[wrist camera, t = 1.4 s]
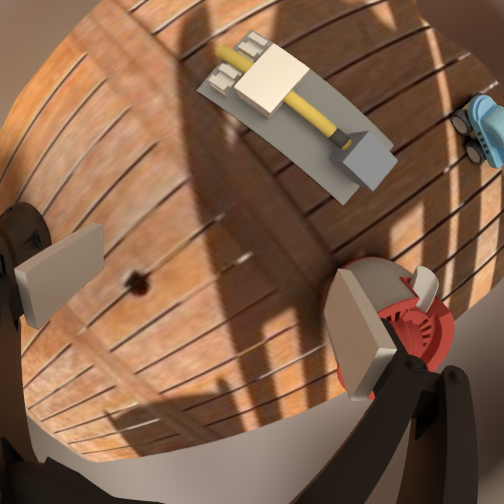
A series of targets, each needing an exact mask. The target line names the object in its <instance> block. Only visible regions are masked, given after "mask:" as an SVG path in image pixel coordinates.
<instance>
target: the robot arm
mask: <svg viewBox="0 0 504 504" xmlns="http://www.w3.org/2000/svg"><path fill="white" fill-rule="evenodd" d="M102 269H104V254H103V224H100V223H95V222H92V223H90V224H88V225H86V226H85V227H83V228H81V229H79V230H77V231H76V232H74V233H72V234H70V235H68V236H67V237H65V238H63V239H61V240H60V241H58V242H56V243H55V244H53V245H51V239H50V235H49V231H48V228H47V226H46V223H45V221H44V220H43V218H42V216H41V215H40V213H39V212H38V211H37V210H36V209H35V208H34V207H33V206H31V205H30V204H27V203H18V204H15V205H13V206H11V207H9V208H8V209H7V210H6V211H5V212H4V213H3V214H2V215H1V216H0V504H164V503H160V502H151V501H139V500H131V499H123V498H116V497H113V496H111V495H109V494H108V493H106V492H105V491H103V490H102V489H100V488H99V487H98V486H96V485H95V484H93V483H92V482H91V481H89V480H88V479H86V478H85V477H84V476H82V475H81V474H80V473H78V472H76V471H74V470H72V469H70V468H68V467H66V466H64V465H62V464H61V463H59V462H57V461H55V460H53V459H51V458H50V457H47V459H46V461H45V463H41V462H39V461H38V459H37V457H36V456H35V454H34V451H33V448H32V445H31V440H30V434H29V429H28V423H27V417H26V410H25V402H24V393H23V382H22V367H21V322H20V318H19V317H21V316H22V315H23V314H24V316H25V319H26V323H27V325H29V326H31V327H33V328H35V329H37V330H39V329H40V328H41V327H42V326H43V325H44V324H45V323H46V322H47V321H48V320H49V319H50V318H51V317H52V316H53V315H54V314H55V313H56V312H57V311H58V310H59V309H60V308H61V307H62V306H63V305H64V304H65V303H66V302H67V301H68V300H69V299H70V298H72V297H73V296H74V295H75V294H76V293H77V292H78V291H79V290H80V289H81V288H82V287H83V286H85V285H86V284H87V283H88V282H89V281H90V280H91V279H92V278H93V277H95V276H96V275H97V274H98V273H99V272H100V271H101V270H102ZM324 315H325V318H326V321H327V325H328V328H329V331H330V334H331V338H332V341H333V344H334V348H335V351H336V354H337V358H338V361H339V365H340V368H341V372H342V375H343V379H344V382H345V386H346V390H347V393H348V397H349V400H367V398H368V397H369V395H370V394H371V392H372V391H373V392H374V395H375V399H374V401H373V402H372V403H371V405H370V406H369V408H368V409H367V410H366V412H365V413H364V415H363V417H362V418H361V419H360V421H359V422H358V424H357V425H356V427H355V428H354V429H353V431H352V432H351V433H350V435H349V436H348V437H347V439H346V440H345V441H344V443H343V444H342V445H341V446H340V448H339V449H338V450H337V451H336V453H335V454H334V455H333V456H332V458H331V459H330V460H329V461H328V462H327V464H326V465H325V466H324V467H323V468H322V469H321V470H320V472H319V473H318V474H317V475H316V476H315V477H314V478H313V480H312V481H311V482H310V483H309V484H308V485H307V486H306V487H305V488H304V489H303V490H302V491H301V492H300V493H299V494H298V495H297V496H296V497H295V498H294V499H293V500H292V501H291V502H290V503H289V504H364V503H365V502H366V500H367V498H368V497H369V495H370V494H371V492H372V491H373V489H374V488H375V486H376V484H377V483H378V481H379V479H380V478H381V476H382V474H383V472H384V471H385V469H386V467H387V465H388V463H389V462H390V460H391V458H392V456H393V454H394V453H395V450H396V448H397V447H398V444H399V443H400V440H401V439H402V436H403V434H404V432H405V430H406V428H407V426H408V423H409V421H410V419H411V427H410V436H409V442H408V449H407V455H406V461H405V466H404V472H403V477H402V482H401V486H400V490H399V494H398V498H397V502H396V504H477V495H478V452H477V437H476V427H475V418H474V409H473V402H472V397H471V390H470V385H469V379H468V377H467V375H466V374H465V372H464V371H463V370H461V369H460V368H458V367H455V366H452V365H450V366H446V367H445V368H444V370H443V371H442V373H441V374H438V373H434V372H431V371H428V367H427V364H426V363H425V362H424V361H423V360H422V359H420V358H419V357H417V356H414V355H409V354H408V352H407V350H406V348H405V347H404V345H403V343H402V342H401V340H400V339H399V336H398V335H397V333H395V332H396V331H395V330H394V328H393V326H392V325H391V324H390V323H389V322H388V321H387V320H386V319H385V318H381V317H379V316H378V314H377V313H376V311H375V309H374V308H373V306H372V304H371V303H370V301H369V299H368V298H367V296H366V294H365V293H364V291H363V289H362V288H361V286H360V284H359V283H358V281H357V280H356V278H355V276H354V275H353V273H352V272H351V271H350V270H344V269H339V268H338V270H337V273H336V276H335V279H334V282H333V285H332V288H331V291H330V294H329V297H328V300H327V303H326V306H325V309H324Z"/></svg>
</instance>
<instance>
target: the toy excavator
mask: <svg viewBox="0 0 504 504" xmlns="http://www.w3.org/2000/svg"><path fill="white" fill-rule="evenodd" d="M451 122H452V123H453V124H454V126H455V127H456V129H457V131H458V132H459V133H460V134H462V135H464V136H467V135H469V134H470V136H471V138H472V140H471V141H470V142H468V143H467V144H466V147H465V149H467V152H466V153H467V155H468V157H469V158H470V159H471V160H472V161H473V162H474V163H476V164H480V165H481V164H482V163H483V162H484V161H485V160H486V159H487V160H488V163H489V165H490V166H491V167H493V168H498V169H499V168H500V167H501V166H502V165H503V164H504V107H501V106H497V104H496V103H495V102H494V101H493V100H492V99H491V98H490V97H489V96H486V95H484V94H482V93H476V94H475V95H473V96H472V97H471V98H470V102H469V103H468V104H466V105H465V106H464V107H463V108H462V109H458V110H457V111H456V112H455V113H454V114H453V115H452V116H451Z"/></svg>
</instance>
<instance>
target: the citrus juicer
mask: <svg viewBox="0 0 504 504" xmlns="http://www.w3.org/2000/svg"><path fill="white" fill-rule="evenodd" d="M341 269H344V270H350V271H351V272H352V273H353V275H354V276H355V278H356V280H357V281H358V283H359V284H360V286H361V288H362V289H363V291H364V293H365V294H366V296H367V298H368V299H369V301H370V303H371V304H372V306H373V308H374V309H375V311H376V313H377V314H378V316H379V317H381V318H385V319H386V320H387V321H388V322H389V323H390V324H391V325H392V326H393V328H394V330H395V331H396V332H395V333H397V335H398V336H399V339H400V340H401V342H402V343H403V345H404V347H405V348H406V350H407V352H408V354H409V355H414V356H417V357H419V358H420V359H422V360H423V361H424V362H425V363H426V364H427V367H428V371H431V372H434V371H435V369H436V368H437V367H438V366H439V365H440V363H441V362H442V361H443V359H444V358H445V356H446V355H447V353H448V351H449V349H450V346H451V343H452V341H453V336H454V319H453V316H452V314H451V311H450V310H449V309H448V308H447V307H446V306H445V305H444V304H443V303H442V301H441V300H440V299H439V298H438V297H437V296H436V295H435V294H436V292H437V289H438V284H439V283H438V280H437V278H436V276H435V275H434V274H433V273H432V272H431V271H430V270H429V269H427V268H425V267H423V266H417V267H416V269H415V272H414V274H412V273H410V272H409V271H408V270H406V269H405V268H403V267H402V266H400V265H398V264H396V263H394V262H392V261H389V260H387V259H384V258H381V257H361V258H358V259H354V260H352V261H350V262H348V263H347V264H346V265H344V266H343V267H342V268H341ZM335 276H336V275H335ZM335 276H334V278H333V279H332V281H331V284H330V286H329V288H328V292H327V296H326V303H327V300H328V297H329V294H330V291H331V288H332V285H333V282H334V279H335ZM326 324H327V321H326ZM327 329H328V334H329V338H330V342H331V345H332V349H333V352H334V356H335V359H336V363H337V374H338V379H339V381H340V383H341V385H342V386H343V387H344V388H345V389H346V386H345V382H344V379H343V375H342V372H341V368H340V365H339V361H338V358H337V354H336V351H335V348H334V344H333V341H332V338H331V334H330V331H329V328H328V325H327ZM367 399H375V395H374V392H373V391H372V392H371V394H370V395H369V397H368V398H367Z"/></svg>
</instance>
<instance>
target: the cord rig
mask: <svg viewBox="0 0 504 504" xmlns="http://www.w3.org/2000/svg"><path fill="white" fill-rule="evenodd" d="M272 44H273V43H272V42H271V41H269V40H268V39H266V38H264V37H263V36H261V35H260V34H258V33H256V32H255V31H253V30H250V31H249V32H248V33H247V34H246V35H245V37H244V38H243V39H242V40H241V41H240V42H239V43H238V44H237V45H236V46H235V47H234V48H233V49H231V48H230V47H228V46H226V45H225V44H222V45H220V46H219V47H218V48H217V50H216V52H215V55H216V56H218V57H220V58H221V59H223V60H222V61H221V62H220V63H219V65H218V66H217V67H216V68H215V69H214V70H213V72H212V73H211V74H210V75H209V76H208V77H207V79H206V80H205V81H204V82H203V83H202V85H201V86H200V87H199V88H198V90H197V91H198V92H199V93H201V94H202V95H204V96H205V97H207V98H208V99H210V100H211V101H213V102H214V103H216V104H217V105H219V106H220V107H221V108H223V109H224V110H226V111H227V112H229V113H230V114H231V115H233V116H234V117H235V118H237V119H238V120H240V121H241V122H242V123H244V124H245V125H246V126H248V127H249V128H250V129H252V130H253V131H254V132H256V133H257V134H258V135H260V136H261V137H262V138H264V139H265V140H266V141H268V142H269V143H270V144H271V145H273V146H274V147H275V148H276V149H278V150H279V151H280V152H281V153H283V154H284V155H285V156H286V157H288V158H289V159H290V160H291V161H293V162H294V163H295V164H296V165H297V166H299V167H300V168H301V169H302V170H303V171H305V172H306V173H307V174H308V175H309V176H310V177H312V178H313V179H314V180H315V181H316V182H317V183H319V184H320V185H321V186H322V187H323V188H324V189H325V190H326V191H328V192H329V193H330V194H331V195H332V196H333V197H334V198H335V199H336V200H338V201H339V202H340V203H341V204H342V205H344V204H345V203H346V202H347V201H348V200H349V198H350V197H351V196H352V195H353V194H354V193H355V191H356V190H357V189H358V188H359V187H360V186H362V187H365V188H367V189H369V190H371V191H374V189H375V188H376V187H377V186H378V185H379V183H380V182H381V181H382V180H383V179H384V177H385V176H386V175H387V174H388V173H389V171H390V170H391V169H392V168H393V167H394V165H395V164H396V163H397V162H398V160H397V159H396V158H395V157H394V156H393V155H392V154H391V153H390V152H389V151H390V150H391V149H392V147H393V146H394V145H393V144H392V143H391V142H390V141H389V140H388V138H387V137H386V136H385V135H384V134H383V133H382V132H381V131H380V130H379V129H378V128H377V127H376V126H375V125H374V124H373V123H372V122H371V121H370V120H369V119H368V118H367V117H366V116H364V115H363V114H362V113H361V112H360V111H359V110H358V109H357V108H356V107H355V106H354V105H353V104H351V103H350V102H349V101H348V100H347V99H346V98H345V97H344V96H342V95H341V94H340V93H339V92H338V91H337V90H335V89H334V88H333V87H332V86H331V85H329V84H328V83H327V82H326V81H325V80H323V79H322V78H321V77H320V76H318V75H317V74H316V73H314V72H313V71H312V70H309V71H308V73H307V74H306V76H305V78H304V80H303V81H302V83H301V84H300V85H299V86H298V87H297V88H296V89H295V90H294V91H293V90H291V92H290V93H289V94H288V95H287V96H286V97H285V98H284V100H283V101H284V103H283V104H282V105H281V106H280V107H279V109H278V110H277V111H276V112H275V113H274V114H273V116H272V117H271V118H270V119H268V118H267V117H265V116H264V115H263V114H261V113H260V112H259V111H257V110H256V109H255V108H253V107H252V106H251V105H249V104H248V103H246V102H245V101H244V100H242V99H241V98H239V96H238V94H237V92H236V90H235V88H234V86H235V85H236V84H237V83H238V81H239V80H240V79H241V78H242V77H243V76H244V75H245V73H246V72H247V71H248V70H249V69H250V68H251V67H252V66H253V65H254V63H255V62H256V61H257V60H258V59H259V58H260V57H261V56H262V55H263V54H264V53H265V52H266V51H267V50H268V49H269V48H270V47H271V46H272Z"/></svg>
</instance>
